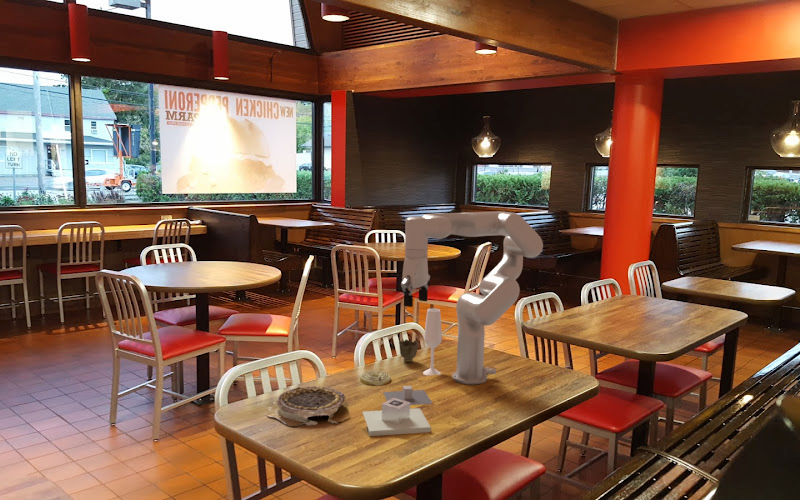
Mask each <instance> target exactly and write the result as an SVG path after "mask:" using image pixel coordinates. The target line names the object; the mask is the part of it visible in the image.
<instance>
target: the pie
mask: <svg viewBox="0 0 800 500" xmlns="http://www.w3.org/2000/svg"><path fill="white" fill-rule="evenodd" d="M276 399H277V400H276V401H277V406H278V407H277V408H276V409H274V407H273V406H272V407H271V406H269V407H267V409H268V408H269V409H268V410H269V411H270V412H269V411H268V412H269V413H271V411H273V410H274V411H275V412H274V411H273V412H272V413H275V414H276V415H277V416H278V417H279V415H280V416H281V417H280V418H278V417H276V416H275V417H274V415H273V416H271V415H267V414H268V413H267V414H266V413H265V415H266V416H267V417H269V418H276V419H277V420H278V421H280V422H282V423H283V424H285V425H286V426H288V427H289V426H291V425H289V424H288V423H287V422H286V421H282V420H281V418H284V419H287V420H290V421H293V422H300V424H298V425H296V427H299V426H302V425H305V426H307V427H308V426H316V425H318V421H316V420H310V419H308V418H310V417H316V416H317V417H319V416H328V418H327V419H328V420H327V422H328V423H331V424H339V423H340V421H336V420H332V418H333V417H334V415H335V413H336V412H338V410H339V409H340V408H341V407H342V406H343V403H344V401H345V400H346V395H345V393H343V392H341V391H339V390H335V389H334V388H330V387H326V386H325V387H323V386H316V385H314V386H305V387H296V388H291V389H288V390H286V391H284V392H283V393H281V394H279V396H278V397H277V398H276ZM276 401H273V403H272V404H273V405H276ZM349 419H350V418H347V419H342V422H345V421H346V420H349ZM287 424H288V425H287Z"/></svg>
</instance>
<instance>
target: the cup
mask: <svg viewBox="0 0 800 500" xmlns="http://www.w3.org/2000/svg"><path fill="white" fill-rule="evenodd" d="M398 344H399V345H398V346H399V354H400V356H401V357H402V358H403V362H404V363H406V364H407V363H412V362H413V361H414V358H416V356H417V353H418V347H419V342H418V341H417V340H413V341H412V340H411V339H409V340H408V339H402V340H400V341H399V342H398Z"/></svg>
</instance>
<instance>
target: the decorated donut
mask: <svg viewBox="0 0 800 500" xmlns="http://www.w3.org/2000/svg"><path fill="white" fill-rule="evenodd" d="M391 380H392V377H391V376H390V375H389V374H388V373H386V372H383V371H381V370H379V371H378V370H369V371H365V372H363V373H362V374H361V375H360V376H359V381H360V382H361V383H362V384H364V385H369V386H376V387H377V386H378V387H379V386H383V385H387V384H389V383H390V382H391Z"/></svg>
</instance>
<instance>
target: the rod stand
mask: <svg viewBox="0 0 800 500" xmlns="http://www.w3.org/2000/svg"><path fill="white" fill-rule="evenodd" d="M382 393H383V395H384V397H385V400H386V402H387V401H389V400H390V399H392V398H396V399H400V400H403V401H407V402H410V406H415V405H416V406H418V405H432V404H433V402H432V399H430V397H429V396H428V393H426V391H425V389H417V390H416V389H415V390H413V387H412V385H403V386H402V390H398V391H382Z"/></svg>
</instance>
